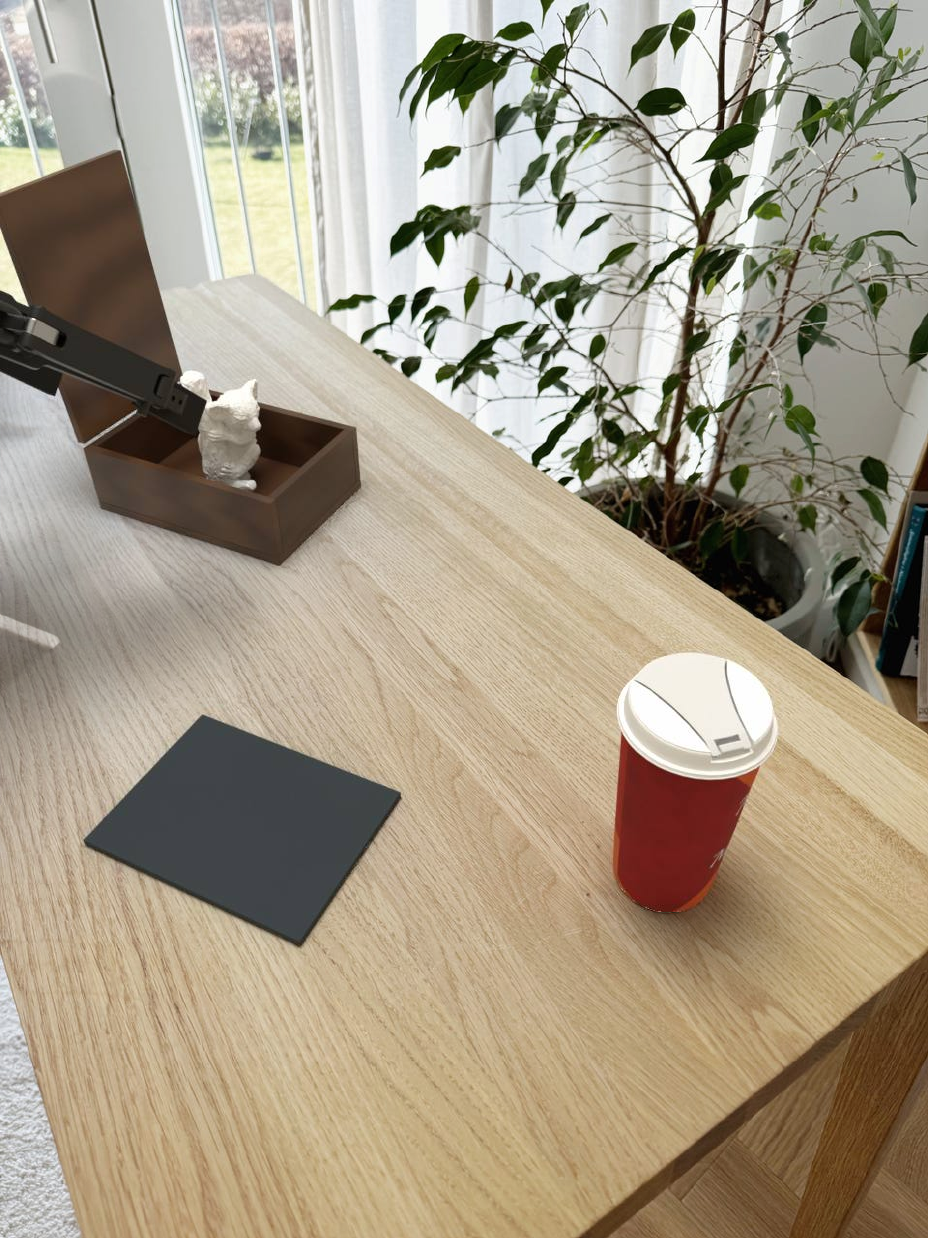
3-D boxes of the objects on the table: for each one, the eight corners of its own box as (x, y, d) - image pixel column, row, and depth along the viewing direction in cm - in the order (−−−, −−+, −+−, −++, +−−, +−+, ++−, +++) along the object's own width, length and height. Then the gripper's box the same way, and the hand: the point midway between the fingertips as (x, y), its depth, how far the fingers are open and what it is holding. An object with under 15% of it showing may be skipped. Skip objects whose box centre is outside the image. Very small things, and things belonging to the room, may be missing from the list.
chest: (361, 486, 92) (356, 427, 87) (279, 565, 82) (269, 503, 78) (193, 439, 98) (181, 382, 94) (100, 508, 89) (82, 448, 85)
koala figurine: (202, 521, 86) (176, 398, 78) (174, 487, 90) (146, 367, 82) (289, 492, 89) (272, 371, 81) (258, 460, 94) (239, 342, 86)
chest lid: (121, 149, 81) (113, 149, 81) (-5, 197, 71) (-12, 196, 72) (184, 378, 93) (177, 377, 94) (84, 444, 84) (78, 442, 84)
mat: (84, 845, 61) (82, 840, 60) (203, 718, 69) (202, 713, 69) (300, 946, 55) (299, 942, 55) (401, 797, 64) (401, 792, 63)
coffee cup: (755, 911, 57) (816, 739, 47) (626, 947, 55) (661, 776, 46) (691, 802, 63) (732, 630, 53) (573, 832, 61) (593, 659, 52)
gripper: (-288, 292, 58) (-12, 408, 78) (25, 378, 49) (244, 484, 69) (-247, 173, 58) (18, 320, 78) (72, 239, 49) (277, 384, 69)
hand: (125, 397), depth 74 cm, fingers open, 13 cm apart
